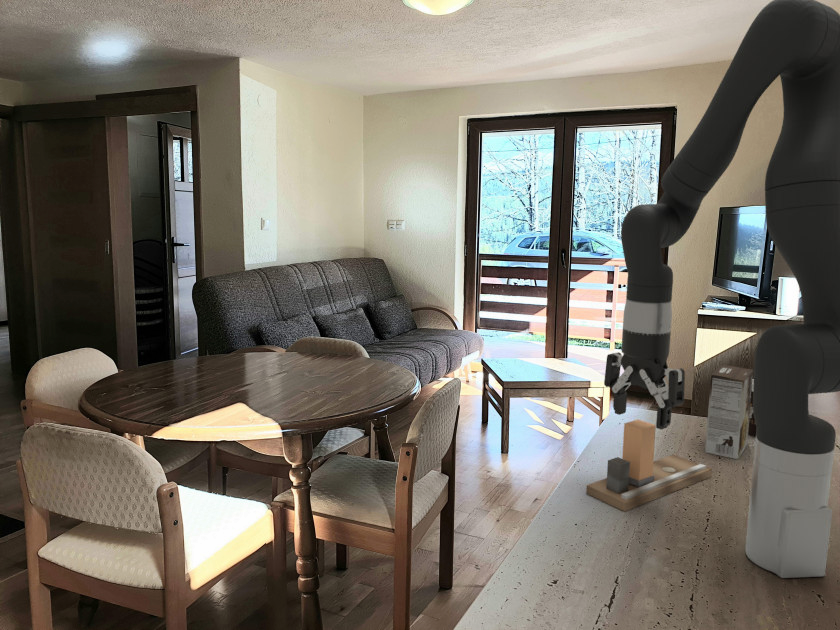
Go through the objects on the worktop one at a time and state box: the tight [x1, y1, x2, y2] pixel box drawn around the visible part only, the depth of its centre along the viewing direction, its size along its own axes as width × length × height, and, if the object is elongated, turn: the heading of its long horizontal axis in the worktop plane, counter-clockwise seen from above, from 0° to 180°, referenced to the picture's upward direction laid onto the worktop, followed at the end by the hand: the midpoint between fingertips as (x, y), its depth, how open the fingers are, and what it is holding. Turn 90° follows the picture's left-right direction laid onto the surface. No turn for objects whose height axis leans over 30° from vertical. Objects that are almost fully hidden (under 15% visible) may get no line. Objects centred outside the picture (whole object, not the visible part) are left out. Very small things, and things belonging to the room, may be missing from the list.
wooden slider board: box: [585, 454, 713, 512], centre depth 115 cm, size 24×8×6 cm, turn 124°
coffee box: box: [704, 364, 754, 460], centre depth 130 cm, size 9×6×16 cm
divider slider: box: [621, 419, 657, 487], centre depth 112 cm, size 4×4×10 cm
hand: (640, 420), depth 111 cm, fingers open, 8 cm apart
